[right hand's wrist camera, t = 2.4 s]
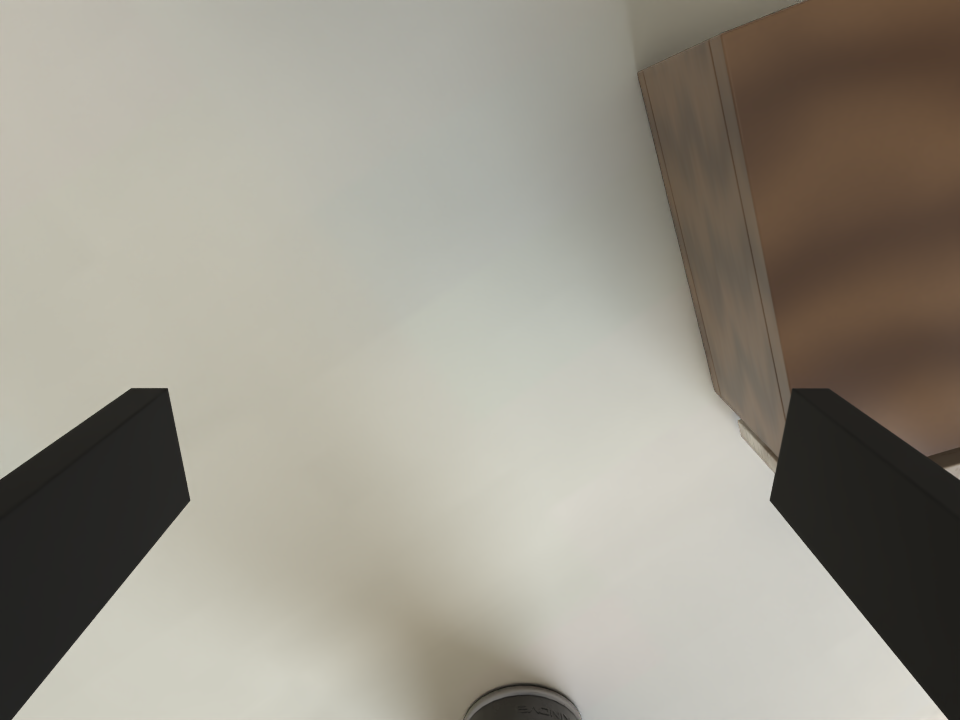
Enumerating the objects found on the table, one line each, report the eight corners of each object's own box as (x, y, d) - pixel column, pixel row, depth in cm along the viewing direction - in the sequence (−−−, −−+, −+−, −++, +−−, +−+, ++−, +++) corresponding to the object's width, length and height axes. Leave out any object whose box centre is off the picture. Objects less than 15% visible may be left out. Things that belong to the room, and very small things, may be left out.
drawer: (926, 463, 36) (1059, 558, 28) (758, 512, 38) (838, 617, 29) (882, 75, 29) (1047, 46, 20) (674, 152, 30) (749, 155, 22)
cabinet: (910, 329, 34) (1095, 408, 24) (714, 391, 36) (809, 491, 25) (870, -19, 28) (1094, -113, 18) (636, 72, 30) (720, 33, 19)
